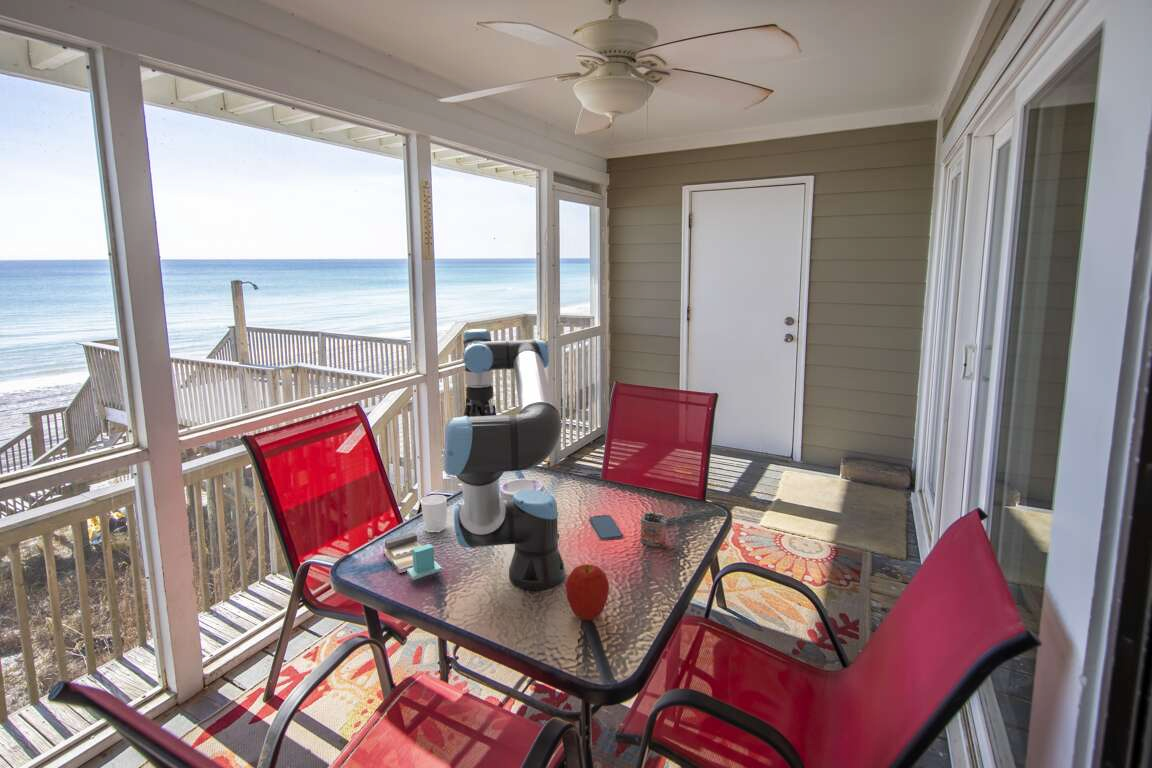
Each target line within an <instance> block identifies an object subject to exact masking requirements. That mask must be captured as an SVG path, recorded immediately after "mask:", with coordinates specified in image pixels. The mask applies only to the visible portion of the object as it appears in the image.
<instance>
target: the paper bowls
mask: <svg viewBox="0 0 1152 768" xmlns="http://www.w3.org/2000/svg"><path fill="white" fill-rule="evenodd" d="M544 487H545V486H544V484H543V482H542V481H540V480H539V479H535V478H516V479H511V480H509V481H508V480H507V481H505V482H504V483H502V484H501V485H499V491H500V498H501V499H502V500H504V499H512V497H513V495H514V494H515V493H516V492H518V491H521V490H538V491H542V492H545V490H544V489H545V488H544Z"/></svg>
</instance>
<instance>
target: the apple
mask: <svg viewBox="0 0 1152 768" xmlns="http://www.w3.org/2000/svg"><path fill="white" fill-rule="evenodd" d="M565 590H566V599H567V602H568V604H569V607H570V608H571V611H572V613H573V614H574V615H575V616H576V617H578V618H579V619H580V620H583V621H593V620H595V619H596V618H597V617H599V616H600V615H601V614H602V613H603V612H604V609H605V607H606V605H607V601H608V599H609V590H610V583H609V580H608V577H607V575H606V573H605V572H604V570H602V568H600V567H599V566H597V565H594V564H588V563H587V564H582V565H578V566H576V567H575V568H573V570H571V572H570V573H569V574H568V576H567V579H566V581H565Z"/></svg>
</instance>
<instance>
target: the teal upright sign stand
mask: <svg viewBox="0 0 1152 768" xmlns="http://www.w3.org/2000/svg"><path fill="white" fill-rule="evenodd" d="M434 550H435V549H434V546H433V545H432V544H431V543H427V544H423V545H421V546H420V547H417V548H413V549H412V555H413V567H412V568H408V569H407V572H406V573H407V574H408V575H409V576H410V578H411V579H413V580H417V579H420V578H422V577H426V576H428V575H429V576H430V575H432V574H435V573H438V572H441V571H443V567H442V566H441V565H440V564H439V563H438V562H437V561H436V560H435V552H434Z"/></svg>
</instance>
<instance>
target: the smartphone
mask: <svg viewBox="0 0 1152 768" xmlns="http://www.w3.org/2000/svg"><path fill="white" fill-rule="evenodd" d="M588 521H589V524H590V525H591V526H592V529H593V528H594V529H593V530H594V532H595V534H596V533H597V534H596V536H597V537H598V539H599V538H600V539H601V540H600V539H599V540H600V541H607V540H606V539H610V540H616V539H615V538H618V539H622V538H623V537H624V535H623V533H622V531H621V530H620V529H619V526H618V525H617V523H616V522H615V520H614V519H613V517H612V516H611V515H609V514H602V515H594V516H590V517H589V519H588Z"/></svg>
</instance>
